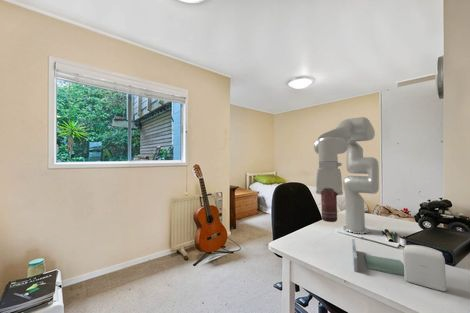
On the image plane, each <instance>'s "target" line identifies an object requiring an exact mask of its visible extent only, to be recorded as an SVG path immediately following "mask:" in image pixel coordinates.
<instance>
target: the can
mask: <svg viewBox="0 0 470 313" xmlns="http://www.w3.org/2000/svg"><path fill="white" fill-rule="evenodd" d="M337 196H338V195H337ZM337 196H336V192H335V191H334V190H333V189H323V190H322V192H321V194H320V200H321V202H320V203H321V219H322V221H324V222H328V223H335V222H337V221H338V200H337V198H338V197H337Z"/></svg>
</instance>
